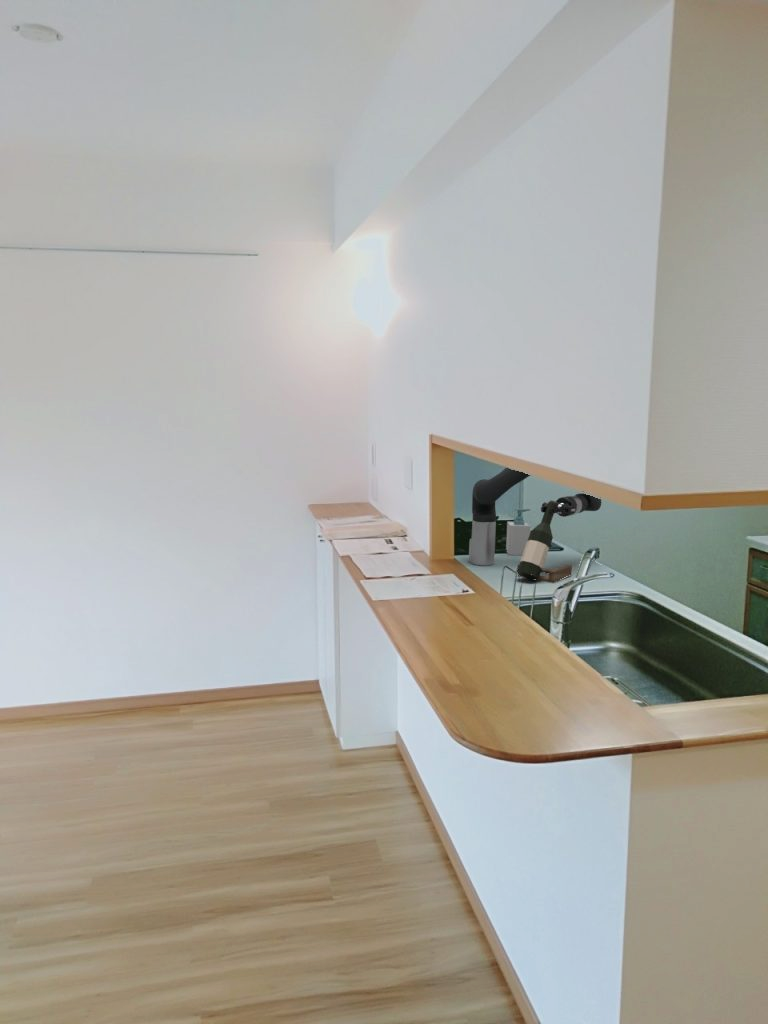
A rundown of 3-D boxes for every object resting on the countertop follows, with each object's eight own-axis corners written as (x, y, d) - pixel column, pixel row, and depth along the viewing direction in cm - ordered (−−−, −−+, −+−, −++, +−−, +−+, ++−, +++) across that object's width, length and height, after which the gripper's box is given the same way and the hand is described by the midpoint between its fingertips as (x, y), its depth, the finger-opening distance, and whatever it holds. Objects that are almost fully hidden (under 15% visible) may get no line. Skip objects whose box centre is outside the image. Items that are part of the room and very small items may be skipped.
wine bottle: (538, 582, 290) (563, 508, 298) (538, 576, 283) (564, 501, 290) (517, 575, 293) (542, 502, 300) (515, 569, 285) (542, 494, 292)
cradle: (517, 575, 296) (517, 565, 295) (535, 569, 307) (536, 559, 306) (553, 582, 287) (554, 572, 286) (571, 575, 297) (571, 565, 297)
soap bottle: (529, 555, 330) (532, 510, 327) (508, 555, 330) (510, 510, 327) (526, 551, 338) (528, 507, 335) (505, 550, 338) (508, 506, 335)
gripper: (552, 494, 309) (530, 497, 296) (586, 498, 300) (564, 502, 287) (551, 513, 310) (529, 517, 297) (584, 517, 301) (563, 522, 288)
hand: (546, 510), depth 292 cm, fingers closed on wine bottle, 3 cm apart
